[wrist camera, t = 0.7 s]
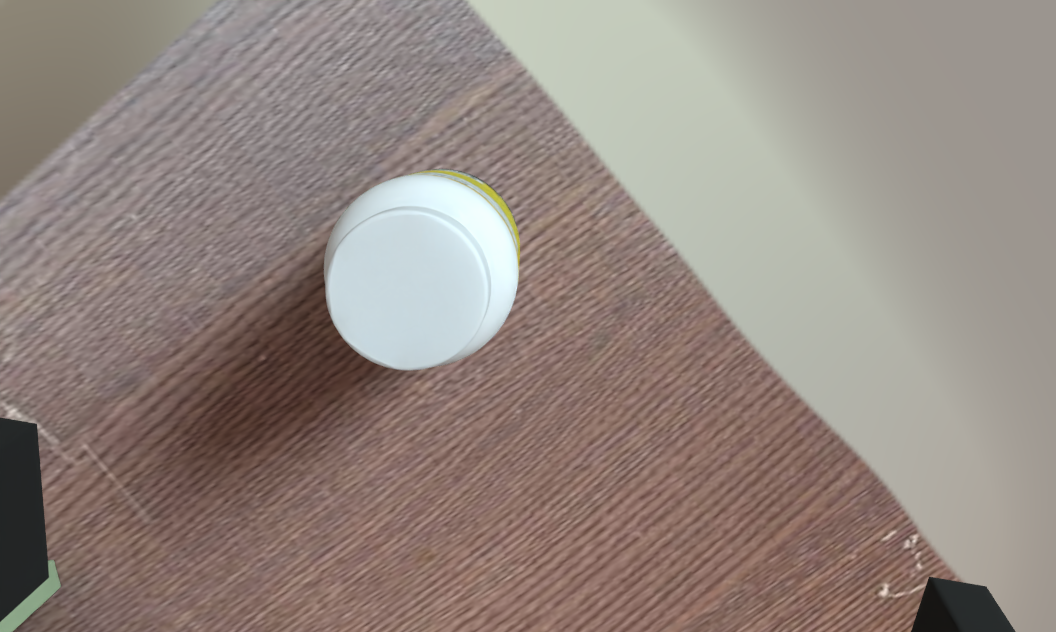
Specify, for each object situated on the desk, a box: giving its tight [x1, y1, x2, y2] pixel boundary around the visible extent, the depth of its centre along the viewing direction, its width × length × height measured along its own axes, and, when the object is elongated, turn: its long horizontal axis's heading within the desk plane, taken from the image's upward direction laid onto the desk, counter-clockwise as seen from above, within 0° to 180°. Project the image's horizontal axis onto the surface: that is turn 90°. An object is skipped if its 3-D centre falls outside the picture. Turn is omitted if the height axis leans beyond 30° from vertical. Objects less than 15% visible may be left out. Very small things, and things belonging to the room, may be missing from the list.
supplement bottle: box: [324, 169, 520, 370], centre depth 25 cm, size 5×5×10 cm
